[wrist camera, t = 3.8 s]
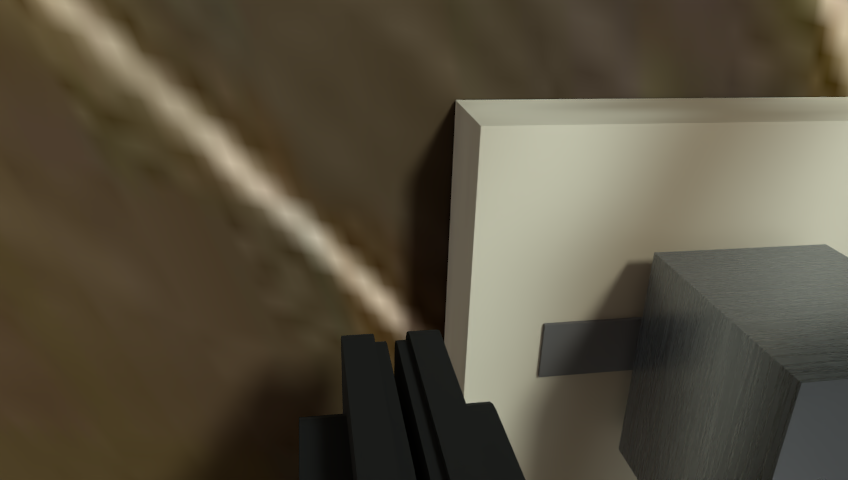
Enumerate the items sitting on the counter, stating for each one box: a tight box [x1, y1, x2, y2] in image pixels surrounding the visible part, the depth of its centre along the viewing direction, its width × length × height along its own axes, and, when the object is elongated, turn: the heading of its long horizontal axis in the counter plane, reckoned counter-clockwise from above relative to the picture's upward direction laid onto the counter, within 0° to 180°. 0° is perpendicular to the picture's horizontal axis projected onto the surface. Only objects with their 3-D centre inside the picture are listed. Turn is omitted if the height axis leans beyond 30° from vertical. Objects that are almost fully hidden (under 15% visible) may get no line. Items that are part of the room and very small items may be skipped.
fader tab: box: [619, 244, 848, 480], centre depth 12 cm, size 4×4×4 cm
